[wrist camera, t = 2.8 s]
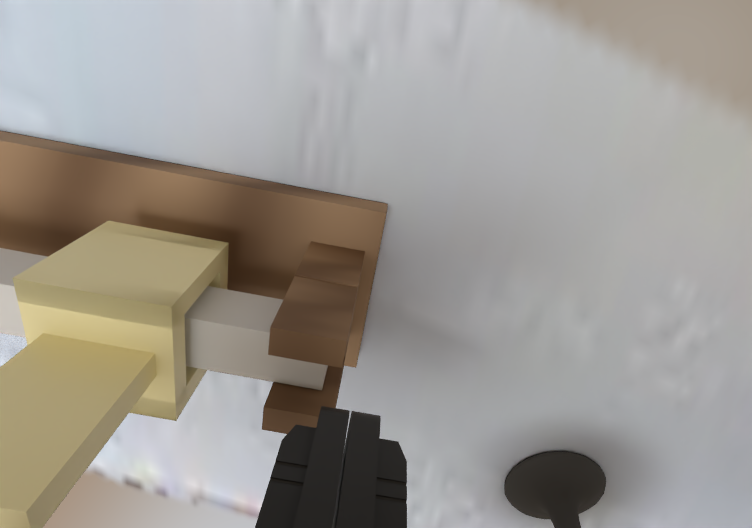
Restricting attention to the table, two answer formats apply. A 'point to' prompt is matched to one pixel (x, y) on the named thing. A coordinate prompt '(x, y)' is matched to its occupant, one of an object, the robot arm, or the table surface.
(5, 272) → the sliding door bolt
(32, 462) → the marker sleeve
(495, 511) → the table surface
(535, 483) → the sundae
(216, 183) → the wooden bracket
